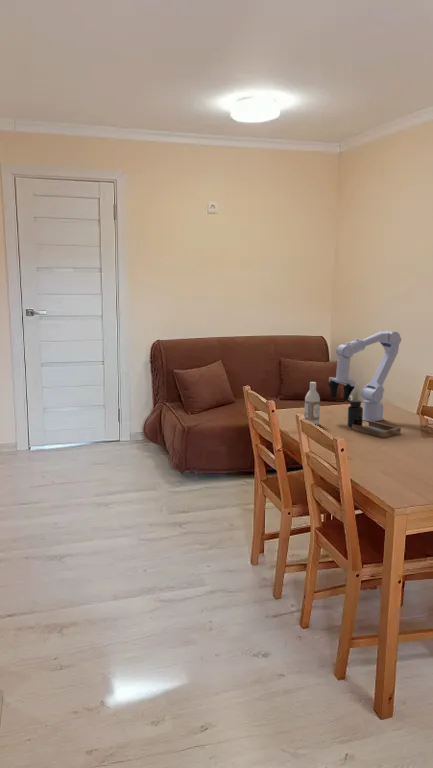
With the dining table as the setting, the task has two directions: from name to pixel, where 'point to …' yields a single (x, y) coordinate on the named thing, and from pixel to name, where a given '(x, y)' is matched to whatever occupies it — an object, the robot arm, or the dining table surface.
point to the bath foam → (312, 405)
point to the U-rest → (377, 429)
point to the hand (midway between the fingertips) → (339, 398)
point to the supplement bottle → (355, 413)
